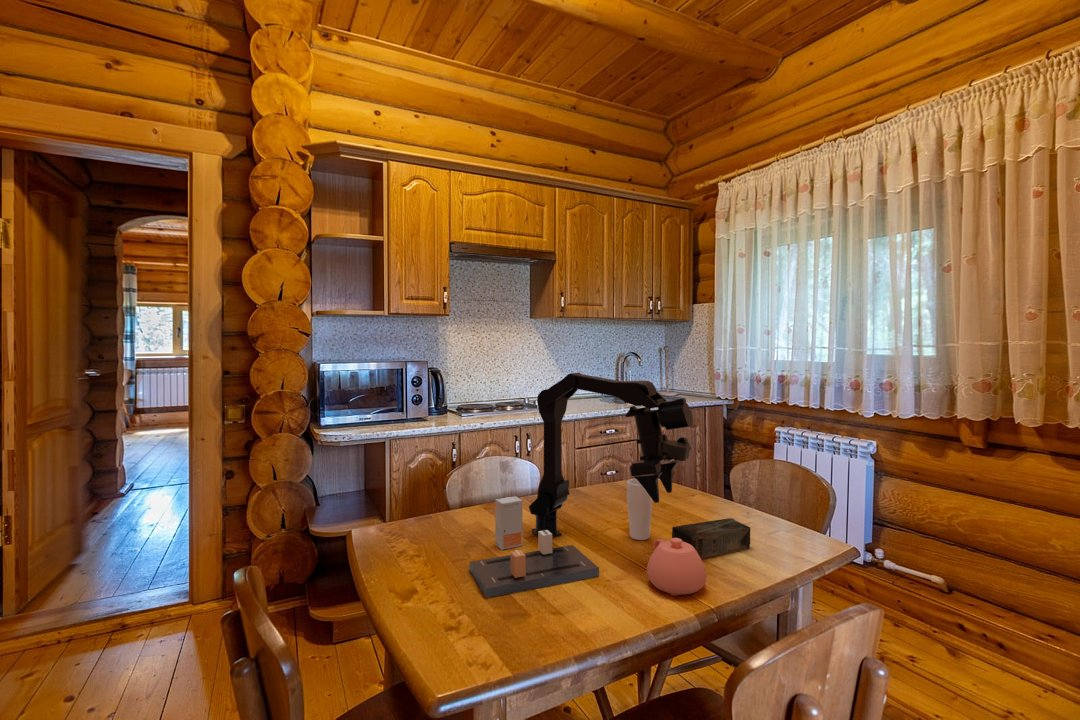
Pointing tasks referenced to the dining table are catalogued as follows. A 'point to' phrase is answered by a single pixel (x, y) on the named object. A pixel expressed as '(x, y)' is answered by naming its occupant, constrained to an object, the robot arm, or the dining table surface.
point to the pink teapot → (676, 567)
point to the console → (532, 571)
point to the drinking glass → (638, 510)
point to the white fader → (545, 542)
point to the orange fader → (518, 563)
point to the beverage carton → (714, 537)
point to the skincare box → (508, 522)
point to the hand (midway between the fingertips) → (663, 497)
